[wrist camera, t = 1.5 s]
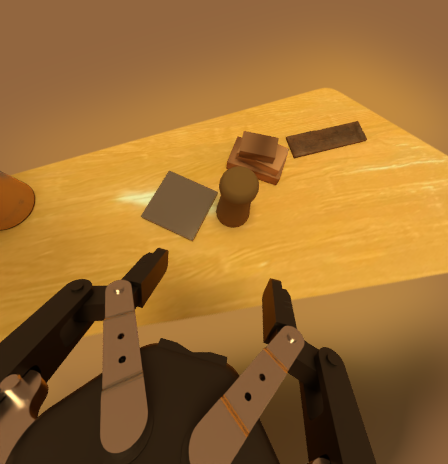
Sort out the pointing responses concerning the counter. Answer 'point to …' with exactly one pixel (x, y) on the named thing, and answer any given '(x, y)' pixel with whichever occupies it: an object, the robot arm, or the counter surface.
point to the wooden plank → (325, 139)
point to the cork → (236, 195)
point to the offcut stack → (259, 156)
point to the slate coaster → (180, 205)
